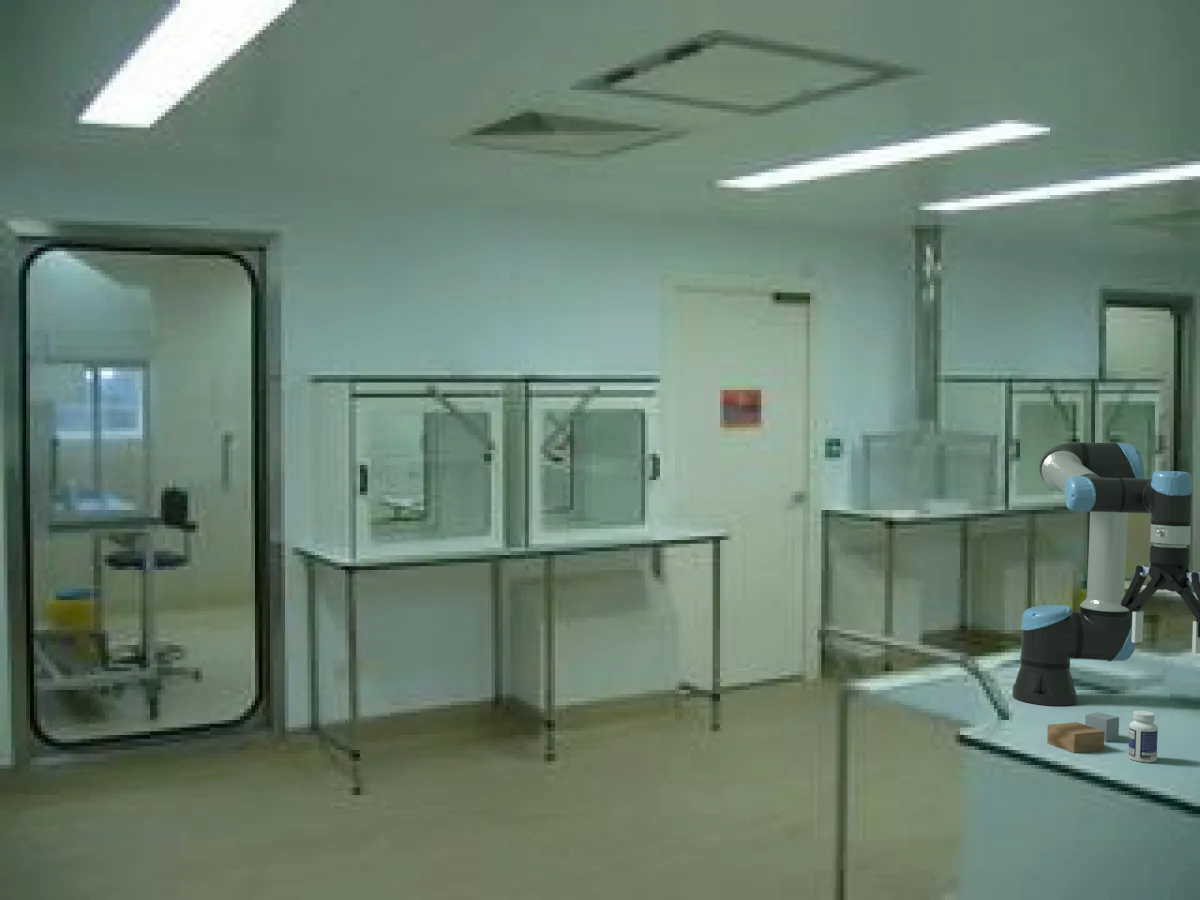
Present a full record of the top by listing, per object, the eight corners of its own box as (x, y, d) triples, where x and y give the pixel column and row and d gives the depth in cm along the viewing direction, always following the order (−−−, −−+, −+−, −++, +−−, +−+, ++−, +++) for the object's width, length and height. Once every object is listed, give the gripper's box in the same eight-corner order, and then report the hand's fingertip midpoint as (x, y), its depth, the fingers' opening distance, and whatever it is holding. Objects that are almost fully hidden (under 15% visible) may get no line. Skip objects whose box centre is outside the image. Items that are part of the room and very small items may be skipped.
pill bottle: (1160, 759, 249) (1161, 712, 248) (1151, 764, 245) (1153, 717, 244) (1133, 754, 252) (1134, 708, 252) (1124, 759, 248) (1126, 712, 248)
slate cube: (1084, 737, 266) (1085, 715, 265) (1097, 734, 269) (1098, 712, 268) (1105, 742, 262) (1106, 719, 261) (1118, 739, 264) (1119, 716, 264)
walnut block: (1047, 743, 260) (1047, 724, 260) (1076, 740, 263) (1077, 722, 262) (1074, 753, 252) (1074, 734, 252) (1103, 750, 255) (1104, 731, 255)
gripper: (1105, 540, 258) (1102, 639, 258) (1217, 552, 237) (1213, 659, 237) (1127, 539, 262) (1124, 636, 262) (1238, 550, 241) (1235, 656, 241)
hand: (1166, 647), depth 250 cm, fingers open, 13 cm apart
